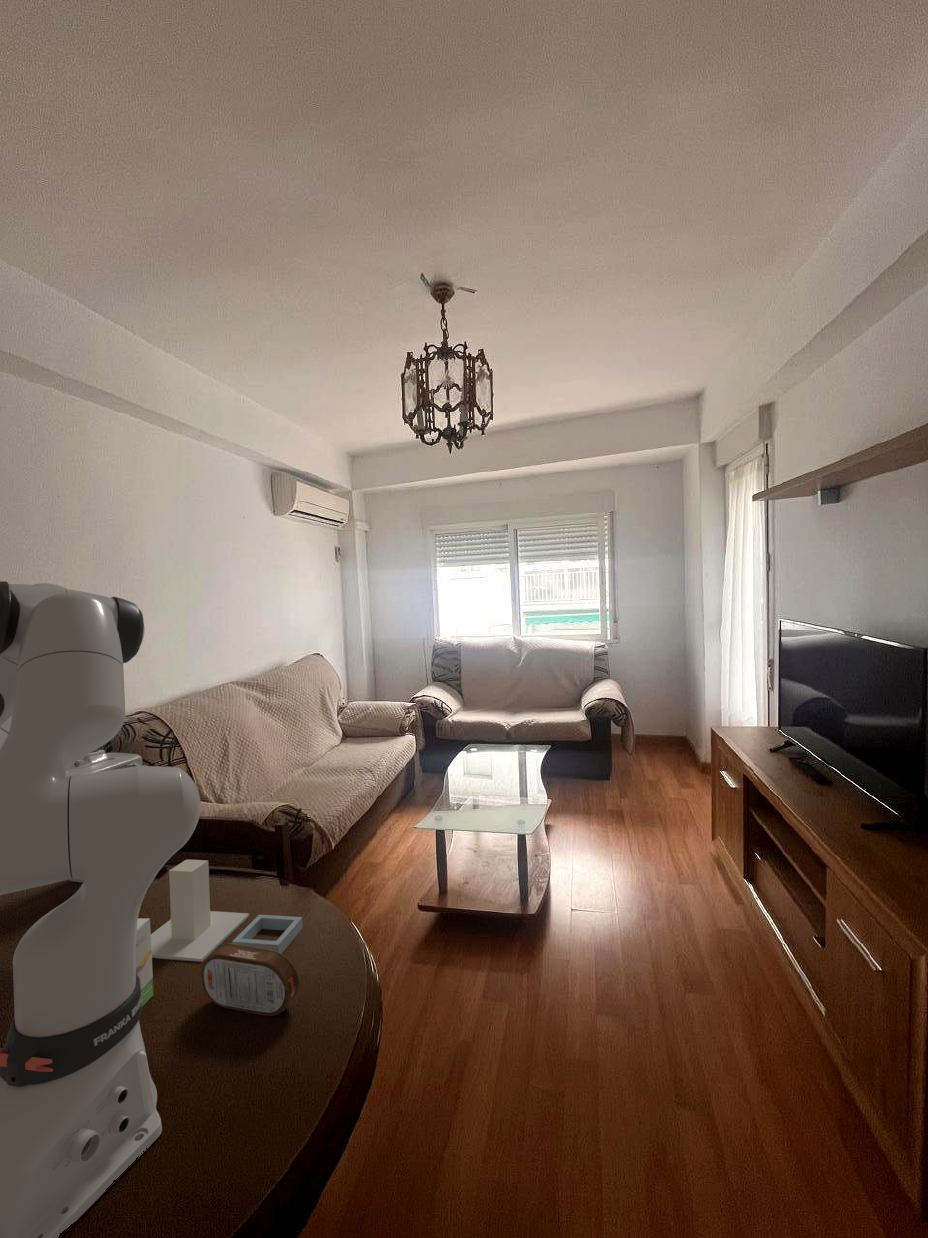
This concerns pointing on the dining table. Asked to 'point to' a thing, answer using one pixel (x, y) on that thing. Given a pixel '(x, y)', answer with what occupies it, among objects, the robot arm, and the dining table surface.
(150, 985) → the ink box
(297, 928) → the frame
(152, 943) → the mat
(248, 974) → the tin
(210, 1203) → the dining table surface
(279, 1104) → the dining table surface
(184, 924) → the cream block
